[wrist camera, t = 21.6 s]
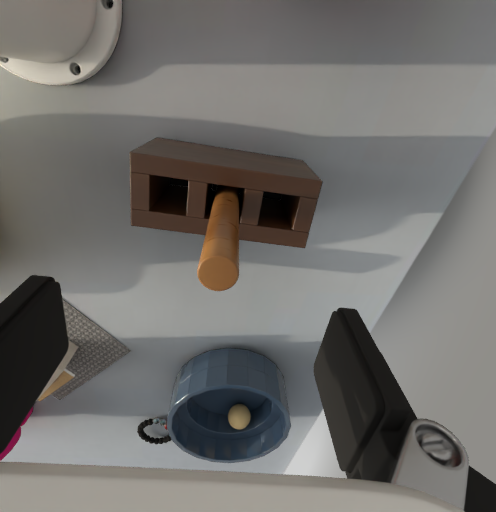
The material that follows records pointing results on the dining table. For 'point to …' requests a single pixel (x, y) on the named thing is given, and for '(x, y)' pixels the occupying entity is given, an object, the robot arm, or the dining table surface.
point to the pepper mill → (15, 437)
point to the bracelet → (152, 440)
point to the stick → (221, 242)
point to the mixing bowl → (228, 406)
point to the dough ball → (239, 416)
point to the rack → (229, 174)
